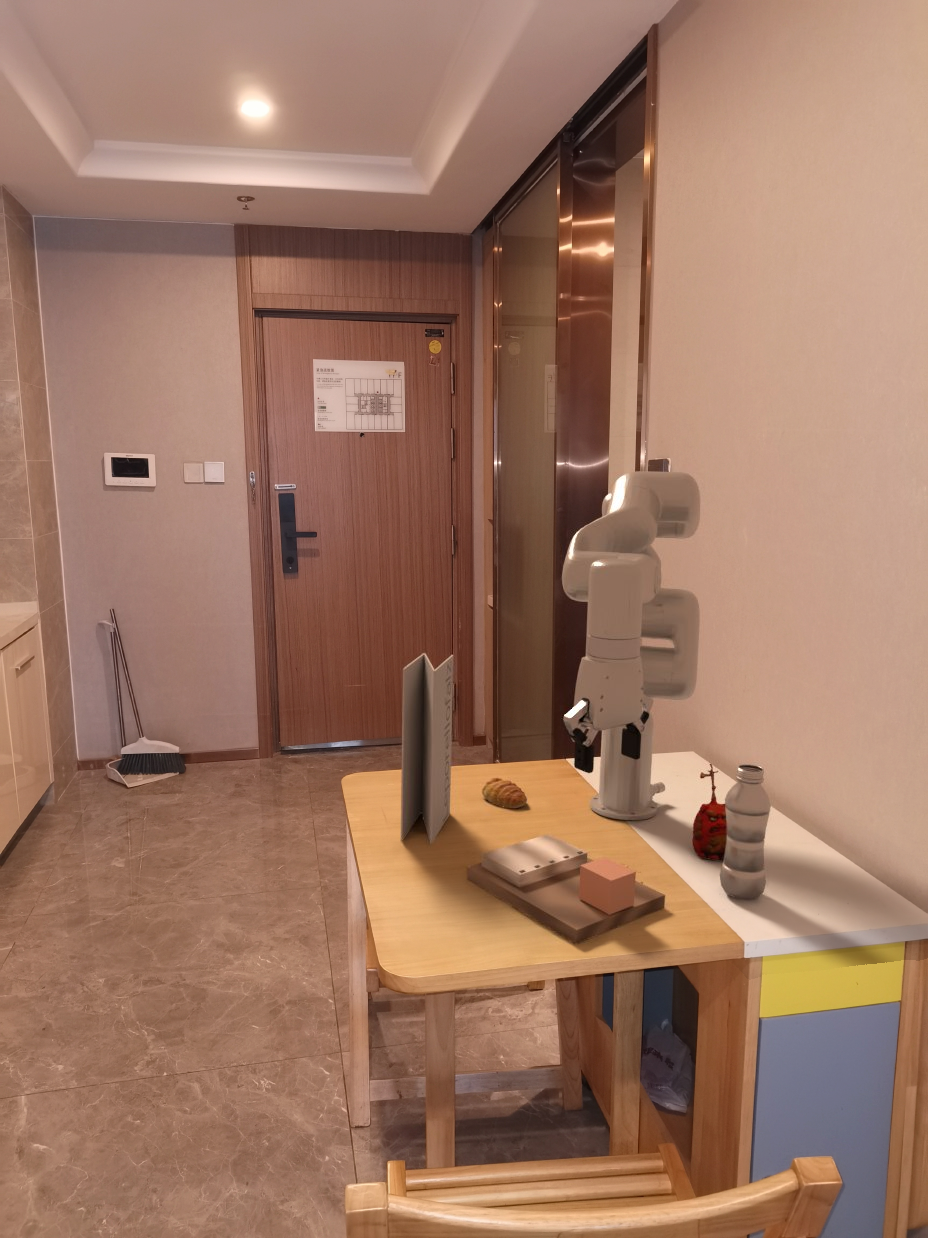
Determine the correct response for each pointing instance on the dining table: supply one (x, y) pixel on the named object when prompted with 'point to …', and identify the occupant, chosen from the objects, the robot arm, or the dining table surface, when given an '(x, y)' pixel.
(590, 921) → the wooden base board
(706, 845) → the red clay folk toy
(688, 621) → the robot arm
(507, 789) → the pastry
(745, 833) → the plastic bottle
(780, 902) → the dining table surface
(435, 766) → the brochure
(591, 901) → the salmon upright block
